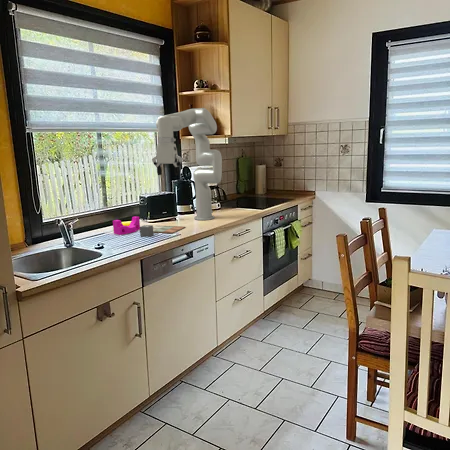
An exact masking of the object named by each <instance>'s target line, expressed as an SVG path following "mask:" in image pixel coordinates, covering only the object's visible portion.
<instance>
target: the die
mask: <svg viewBox="0 0 450 450" xmlns="http://www.w3.org/2000/svg"><path fill="white" fill-rule="evenodd" d="M153 227H154V225H151V224H149V225H148V224H144V225H140V230H139V233H140V234H139V235H140V237H146V236H148V238H149V237H151V236H154V234H155V233H153Z"/></svg>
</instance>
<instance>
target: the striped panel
mask: <svg viewBox="0 0 450 450" xmlns="http://www.w3.org/2000/svg"><path fill="white" fill-rule="evenodd" d="M186 227H187V226H182V225H181V226H179V225H178V226H177V225H153V234H159V233H162V234H161V235H173V234H175V233H178V232H179V231H181V230H184V229H186Z"/></svg>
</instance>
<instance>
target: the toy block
mask: <svg viewBox="0 0 450 450" xmlns="http://www.w3.org/2000/svg"><path fill="white" fill-rule="evenodd" d="M140 223H141V222H140V216H136V215H135V216H132V217H131V222H130V223H129V224H130V225H129V224H128V225H129V226H128V225H123V223H122V220H120V219H115V220H112V229H113V234H114V235H119V236H123V235H128V234H131V233H136V232H137V231H140V227H141V225H140Z"/></svg>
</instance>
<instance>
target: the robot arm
mask: <svg viewBox="0 0 450 450" xmlns="http://www.w3.org/2000/svg"><path fill="white" fill-rule="evenodd" d="M155 126H156V129H157V132H158V133H157V135H158V144H157V149H156V156H155V157H152V158H151V161H152V164H153V165H154V166H155V168H156V173H157V176H161V175H162V171H163V170H162V167H161V166H162V165H163V164H164V165H165V164H167V165H168V164H173V166H174V167H173V169H174V170H173V173H174V175H175V176H178V175H179V173H180V166H181V165H182V162H183V160H184V158H183V157H182V156H180V155H178V148H177V145H176V143H175V142H176V139H177V138H175V137H174V132H178V131H181V130H182V129H184V128H187V127H188V130H189V131H188V132H190V134H191V135H192V137H193V139H194V141H195V162H196V164H197V165H198V166H208V167H198V168H196V169H194V171H193V173H192V174H193V176H192V177H193V181H194V186H195V187H194V189H195V205H196V216H194V220H197V221H209V220H214V219H215V216H214V215H213V212H214V211H213V210H212V207H213V206H212V190H211V188H210V185H209V184H211V185H212V184H219V183H220V182H221V181H222V175H223V173H222V172H223V171H222V170H223V167H222V165H223V160H222V159H223V158H222V153H221V151H220V150H218V149H211V148H210V147H211V146H210V140H209V137H208V136H209V135H214V134H216V132H217V130H218V125H217V122H216V120H215V119H214V117H213V115H212V113H211V112H210V110H209V109H207V108H204V107H199V108H190V109H186V110H183V111H182V110H181V111H180V112H174V113H170V114H165V115H161V116H158V117H157V119H156V123H155ZM207 135H208V136H207ZM210 166H211V167H210Z"/></svg>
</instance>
